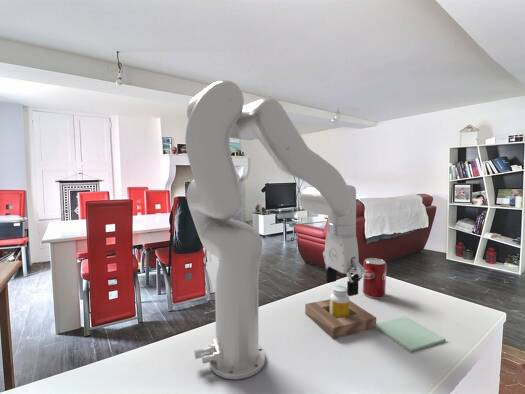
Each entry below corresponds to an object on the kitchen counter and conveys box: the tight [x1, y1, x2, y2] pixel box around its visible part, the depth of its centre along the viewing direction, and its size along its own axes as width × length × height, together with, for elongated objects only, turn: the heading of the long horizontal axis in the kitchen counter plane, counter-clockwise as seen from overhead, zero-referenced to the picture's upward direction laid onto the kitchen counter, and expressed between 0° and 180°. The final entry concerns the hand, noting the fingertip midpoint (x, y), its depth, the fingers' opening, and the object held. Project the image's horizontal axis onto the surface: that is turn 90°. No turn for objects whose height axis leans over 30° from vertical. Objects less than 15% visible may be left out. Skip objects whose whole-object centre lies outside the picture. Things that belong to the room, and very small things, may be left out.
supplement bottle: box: [329, 285, 350, 319], centre depth 81 cm, size 5×5×10 cm
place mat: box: [375, 316, 446, 353], centre depth 74 cm, size 12×12×1 cm
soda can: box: [362, 257, 387, 299], centre depth 98 cm, size 7×7×12 cm
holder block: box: [304, 298, 377, 340], centre depth 81 cm, size 14×14×3 cm
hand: (341, 288), depth 81 cm, fingers open, 9 cm apart
